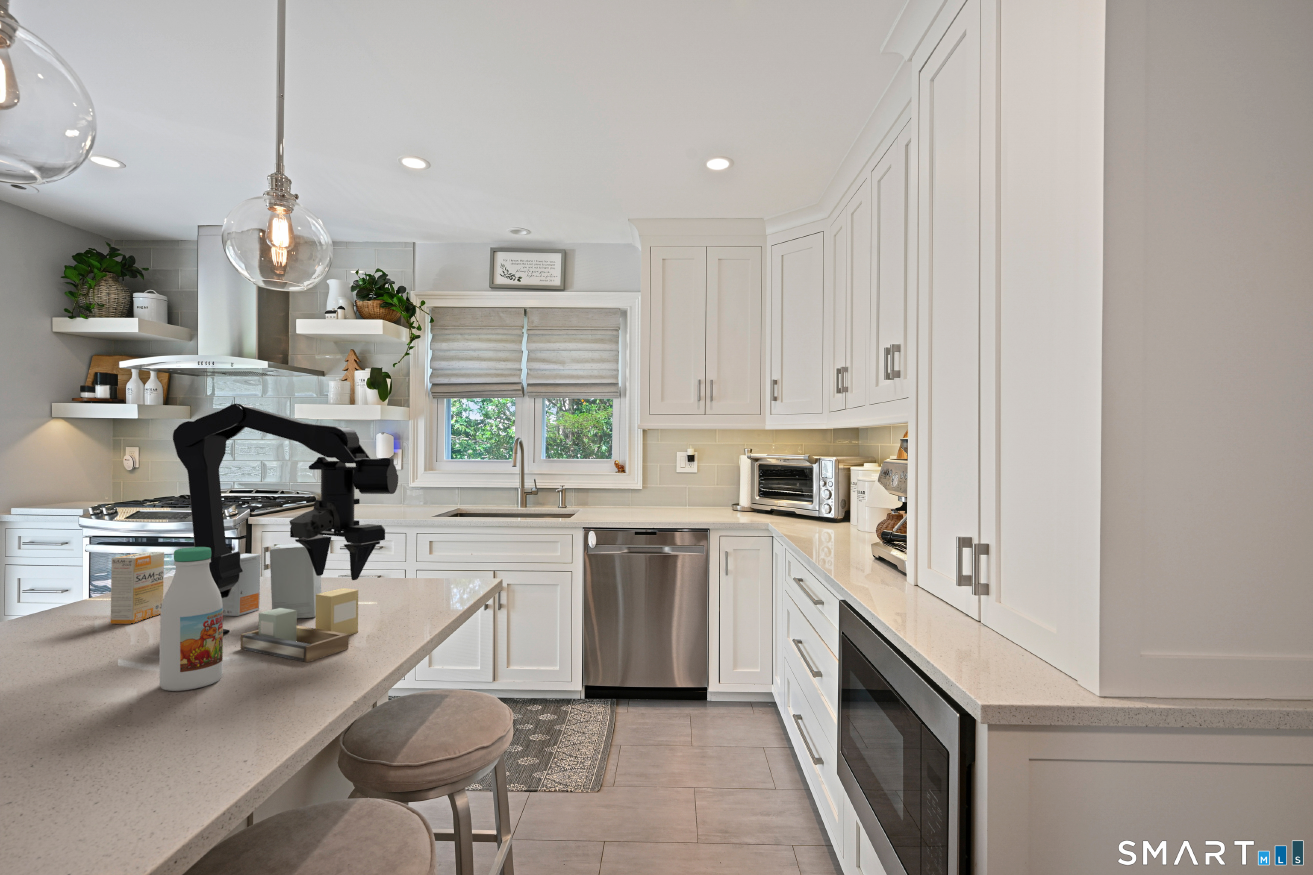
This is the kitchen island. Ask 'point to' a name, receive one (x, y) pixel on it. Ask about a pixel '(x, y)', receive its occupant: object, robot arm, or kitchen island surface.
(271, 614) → the sage carton
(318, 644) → the tray
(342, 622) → the ochre carton
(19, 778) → the kitchen island surface
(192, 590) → the milk bottle
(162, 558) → the supplement box
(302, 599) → the skincare box
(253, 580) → the skincare box
